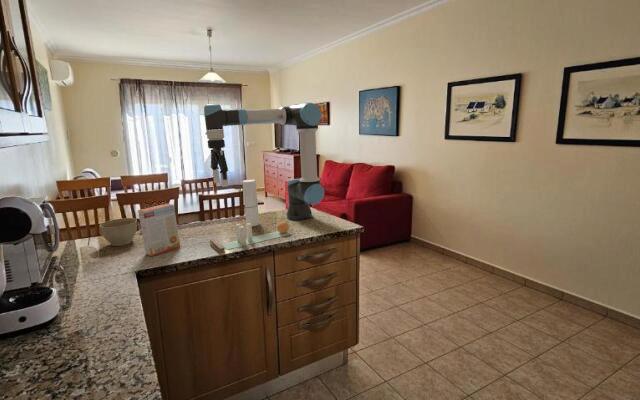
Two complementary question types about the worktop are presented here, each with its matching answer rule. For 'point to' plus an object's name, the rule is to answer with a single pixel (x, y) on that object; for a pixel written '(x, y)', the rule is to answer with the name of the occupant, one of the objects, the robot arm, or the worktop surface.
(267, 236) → the lane
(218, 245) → the backstop
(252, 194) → the cylindrical container
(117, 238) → the planter bowl
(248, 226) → the pin front
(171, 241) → the cracker box
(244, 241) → the pin back left
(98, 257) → the worktop surface
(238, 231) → the pin back right
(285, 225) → the ball
